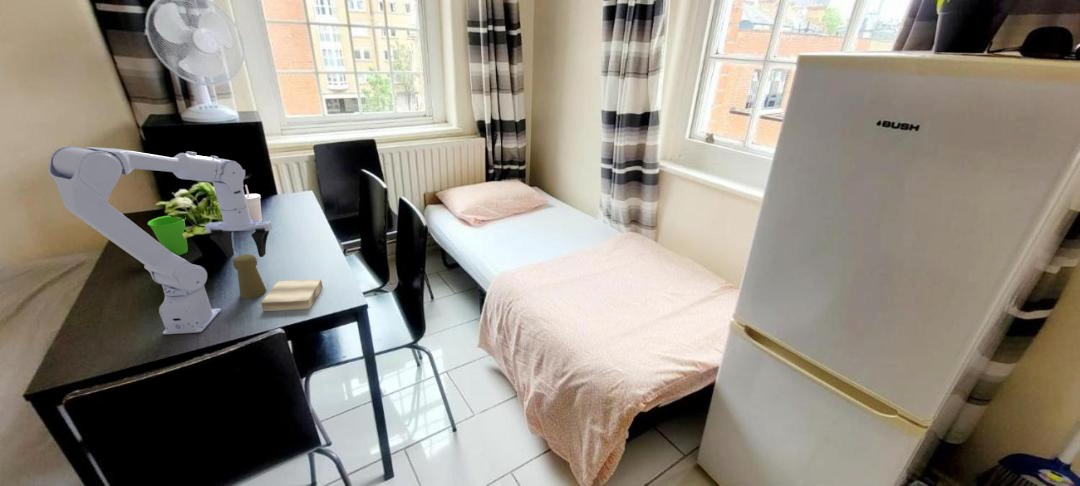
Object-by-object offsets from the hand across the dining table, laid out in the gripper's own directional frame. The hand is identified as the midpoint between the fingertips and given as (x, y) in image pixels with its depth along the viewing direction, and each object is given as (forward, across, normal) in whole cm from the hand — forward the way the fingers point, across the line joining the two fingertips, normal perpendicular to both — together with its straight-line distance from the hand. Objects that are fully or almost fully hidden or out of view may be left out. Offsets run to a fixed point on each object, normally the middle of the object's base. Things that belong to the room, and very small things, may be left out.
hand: (246, 255), depth 113 cm
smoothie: (+10, +21, -54) cm, 58 cm away
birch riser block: (+10, -12, +6) cm, 16 cm away
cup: (+10, +33, -26) cm, 43 cm away
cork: (+11, 0, +2) cm, 11 cm away
